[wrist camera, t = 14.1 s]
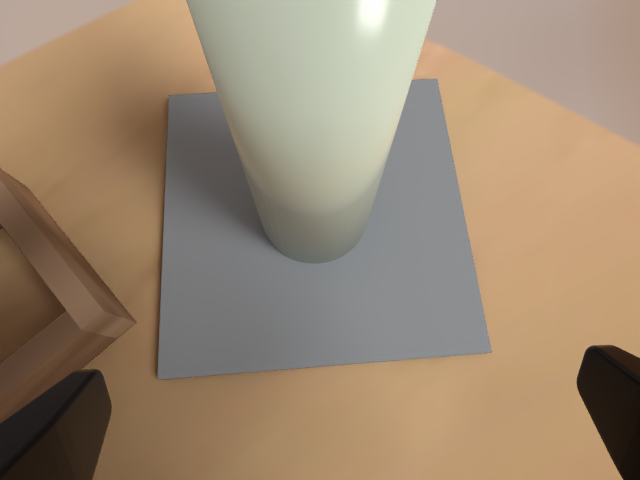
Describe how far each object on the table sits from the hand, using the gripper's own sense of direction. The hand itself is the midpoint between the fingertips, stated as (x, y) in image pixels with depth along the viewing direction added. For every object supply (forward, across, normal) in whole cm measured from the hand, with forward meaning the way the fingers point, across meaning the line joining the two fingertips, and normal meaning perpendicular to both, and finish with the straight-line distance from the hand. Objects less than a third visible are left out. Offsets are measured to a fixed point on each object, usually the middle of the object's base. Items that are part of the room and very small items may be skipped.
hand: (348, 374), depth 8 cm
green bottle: (+13, 0, +2) cm, 13 cm away
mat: (+13, 0, +2) cm, 13 cm away
